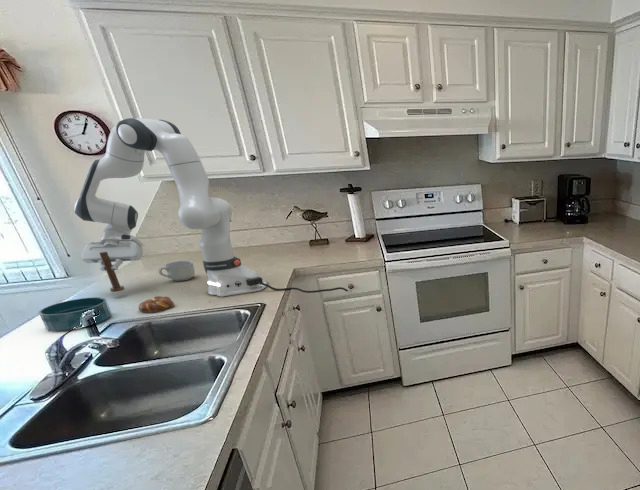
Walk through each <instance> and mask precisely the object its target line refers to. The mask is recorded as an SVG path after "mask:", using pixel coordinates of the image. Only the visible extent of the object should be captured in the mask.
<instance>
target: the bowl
mask: <svg viewBox="0 0 640 490" xmlns="http://www.w3.org/2000/svg"><path fill="white" fill-rule="evenodd" d="M92 309H97V310H99V311H100V315H99V316H97V317H95V321H96V324H95V325H97V324H101V323H102V322H105V321H106V320H107V319H108V318H110V317H111V316H112V312H111V309H110V307H109V304H108V302H107V299H106V298H104V297H98V296H97V297H96V296H95V297H94V296H93V297H82V298H75V299H70V300H65V301H62V302H56V303H54V304H51V305H48V306H46V307H43V308H42V309H40V310H39V311H38V314H39V317H40V319H41V321H42V323H43V326H44V328H45V329H46V330H49V331H56V332H65V331H72V330H71V329H73V328H74V327H77V326H79V325H80V317H81V315H82V313H84V312H86V311H88V310H92Z"/></svg>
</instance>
